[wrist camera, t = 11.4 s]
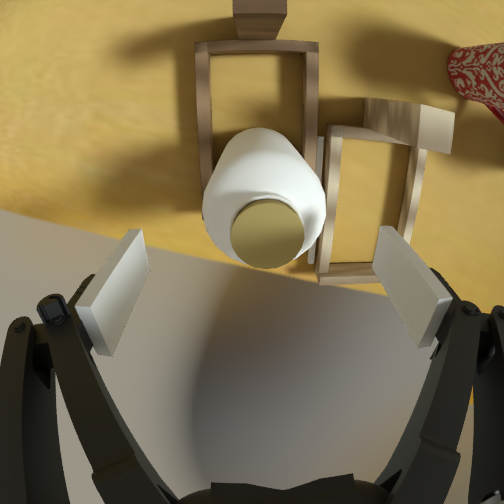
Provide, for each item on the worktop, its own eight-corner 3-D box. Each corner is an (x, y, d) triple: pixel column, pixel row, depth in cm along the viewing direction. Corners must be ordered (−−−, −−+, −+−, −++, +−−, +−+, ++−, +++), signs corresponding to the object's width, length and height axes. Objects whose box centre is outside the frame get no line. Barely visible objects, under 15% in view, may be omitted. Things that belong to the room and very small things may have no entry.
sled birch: (327, 93, 27) (370, 94, 17) (422, 108, 27) (488, 123, 17) (314, 271, 38) (334, 337, 28) (394, 269, 38) (431, 326, 28)
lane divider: (316, 135, 30) (317, 136, 29) (322, 136, 30) (323, 137, 29) (307, 260, 38) (308, 264, 37) (312, 260, 38) (313, 263, 37)
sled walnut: (198, 17, 23) (169, -21, 12) (313, 17, 23) (347, -19, 12) (206, 209, 34) (187, 266, 24) (309, 208, 34) (334, 264, 24)
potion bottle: (206, 154, 31) (161, 222, 16) (268, 111, 29) (291, 130, 13) (250, 210, 35) (249, 317, 19) (310, 172, 32) (364, 253, 17)
